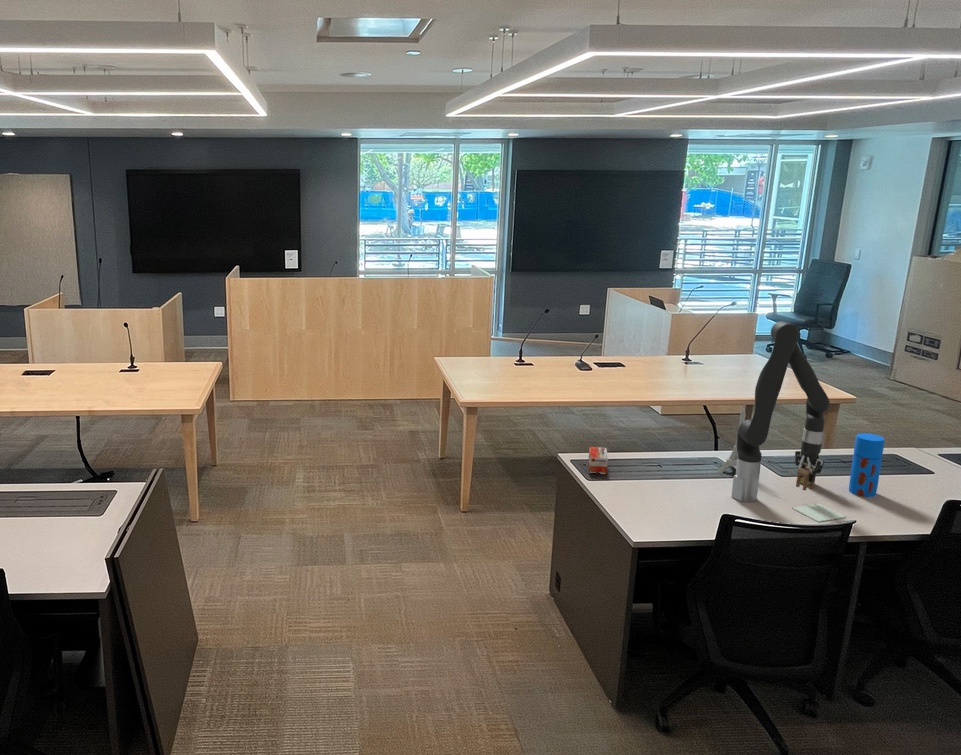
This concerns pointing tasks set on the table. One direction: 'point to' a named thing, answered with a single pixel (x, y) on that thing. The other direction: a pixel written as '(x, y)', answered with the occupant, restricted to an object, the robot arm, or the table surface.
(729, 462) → the eiffel tower
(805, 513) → the pad
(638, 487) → the table surface
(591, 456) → the medicine box
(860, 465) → the thermos
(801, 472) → the stool
